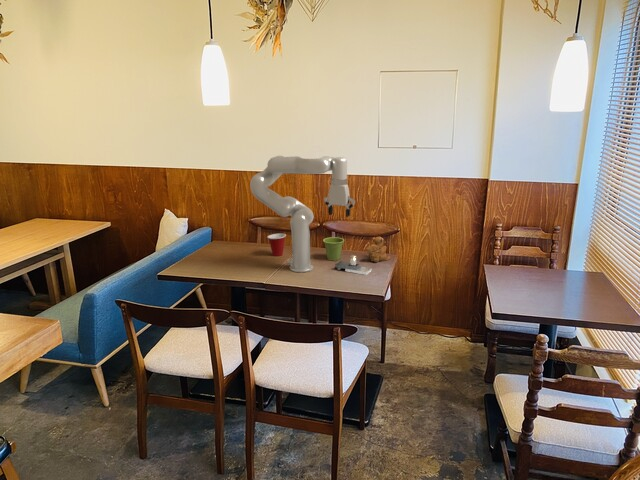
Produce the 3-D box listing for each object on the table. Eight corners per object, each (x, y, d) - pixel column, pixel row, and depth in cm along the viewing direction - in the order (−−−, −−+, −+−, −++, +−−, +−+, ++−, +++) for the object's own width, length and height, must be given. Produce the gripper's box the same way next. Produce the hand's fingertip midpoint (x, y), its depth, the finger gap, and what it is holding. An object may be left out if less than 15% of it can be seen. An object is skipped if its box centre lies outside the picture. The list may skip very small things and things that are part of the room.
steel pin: (349, 270, 257) (349, 256, 254) (351, 269, 259) (351, 254, 257) (354, 271, 255) (354, 257, 253) (357, 269, 258) (357, 255, 256)
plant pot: (319, 258, 277) (318, 239, 274) (333, 254, 284) (334, 236, 281) (333, 263, 268) (333, 244, 265) (348, 259, 276) (348, 240, 273)
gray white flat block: (335, 269, 258) (335, 264, 257) (340, 265, 264) (340, 260, 263) (366, 274, 250) (366, 269, 249) (371, 270, 256) (371, 265, 255)
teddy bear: (391, 258, 276) (392, 236, 273) (378, 265, 266) (379, 242, 262) (376, 255, 282) (376, 233, 279) (363, 261, 272) (363, 239, 268)
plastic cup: (270, 251, 290) (269, 232, 287) (288, 252, 289) (287, 233, 286) (266, 257, 280) (265, 237, 277) (284, 258, 278) (283, 237, 275)
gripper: (320, 182, 243) (320, 215, 248) (352, 184, 236) (351, 218, 240) (327, 180, 250) (327, 212, 254) (358, 182, 242) (357, 215, 247)
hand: (339, 215), depth 247 cm, fingers open, 9 cm apart
